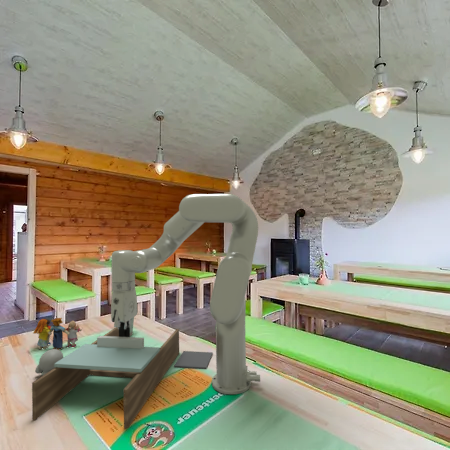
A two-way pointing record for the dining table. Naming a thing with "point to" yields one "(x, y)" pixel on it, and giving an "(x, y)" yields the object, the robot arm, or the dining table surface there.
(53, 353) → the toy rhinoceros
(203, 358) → the rubber mat
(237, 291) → the robot arm
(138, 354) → the sliding cover
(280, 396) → the dining table surface
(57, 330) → the doll family
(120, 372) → the wooden shelf frame
